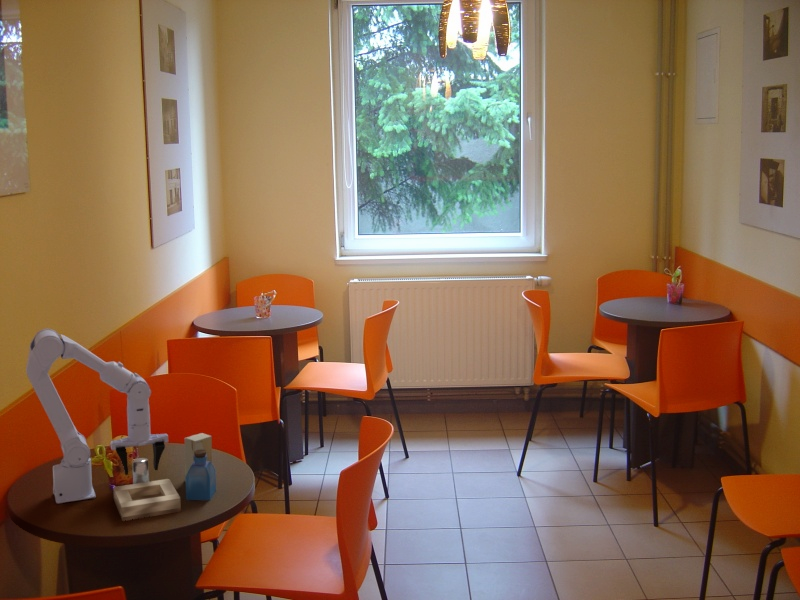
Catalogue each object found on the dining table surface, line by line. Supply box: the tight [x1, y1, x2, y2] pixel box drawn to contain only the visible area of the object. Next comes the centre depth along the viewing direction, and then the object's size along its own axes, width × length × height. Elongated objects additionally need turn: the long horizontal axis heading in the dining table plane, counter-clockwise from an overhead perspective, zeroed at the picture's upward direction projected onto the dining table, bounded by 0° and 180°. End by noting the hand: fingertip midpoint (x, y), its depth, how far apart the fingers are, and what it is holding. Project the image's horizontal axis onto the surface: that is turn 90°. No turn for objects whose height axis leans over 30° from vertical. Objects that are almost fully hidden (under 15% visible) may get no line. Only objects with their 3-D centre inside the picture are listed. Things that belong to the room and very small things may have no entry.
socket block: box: [112, 478, 182, 522], centre depth 215 cm, size 14×14×4 cm
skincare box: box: [184, 432, 213, 481], centre depth 232 cm, size 6×4×12 cm
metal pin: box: [131, 457, 150, 484], centre depth 228 cm, size 4×4×7 cm
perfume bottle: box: [185, 449, 217, 501], centre depth 222 cm, size 6×6×12 cm
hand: (141, 471), depth 228 cm, fingers open, 7 cm apart
